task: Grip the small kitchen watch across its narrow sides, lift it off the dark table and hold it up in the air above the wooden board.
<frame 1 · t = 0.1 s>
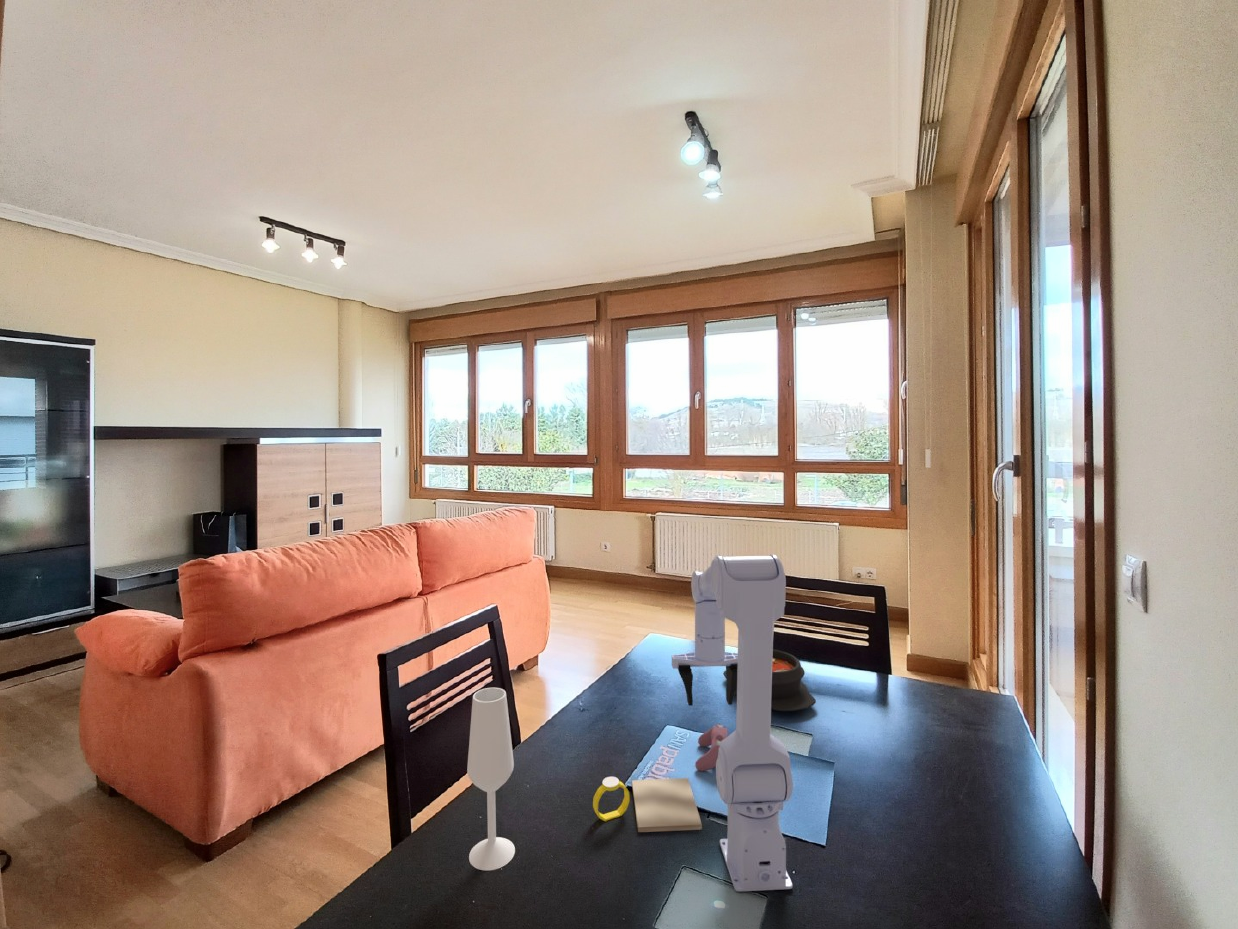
hand: (709, 702, 109), 10 cm above the table, tool pointing down, fingers open, 7 cm apart
wooden board: (664, 805, 94), on the table
casserole: (766, 694, 134), on the table
watch: (611, 817, 91), on the table
champagne flute: (492, 854, 83), on the table
video game controller: (712, 760, 107), on the table
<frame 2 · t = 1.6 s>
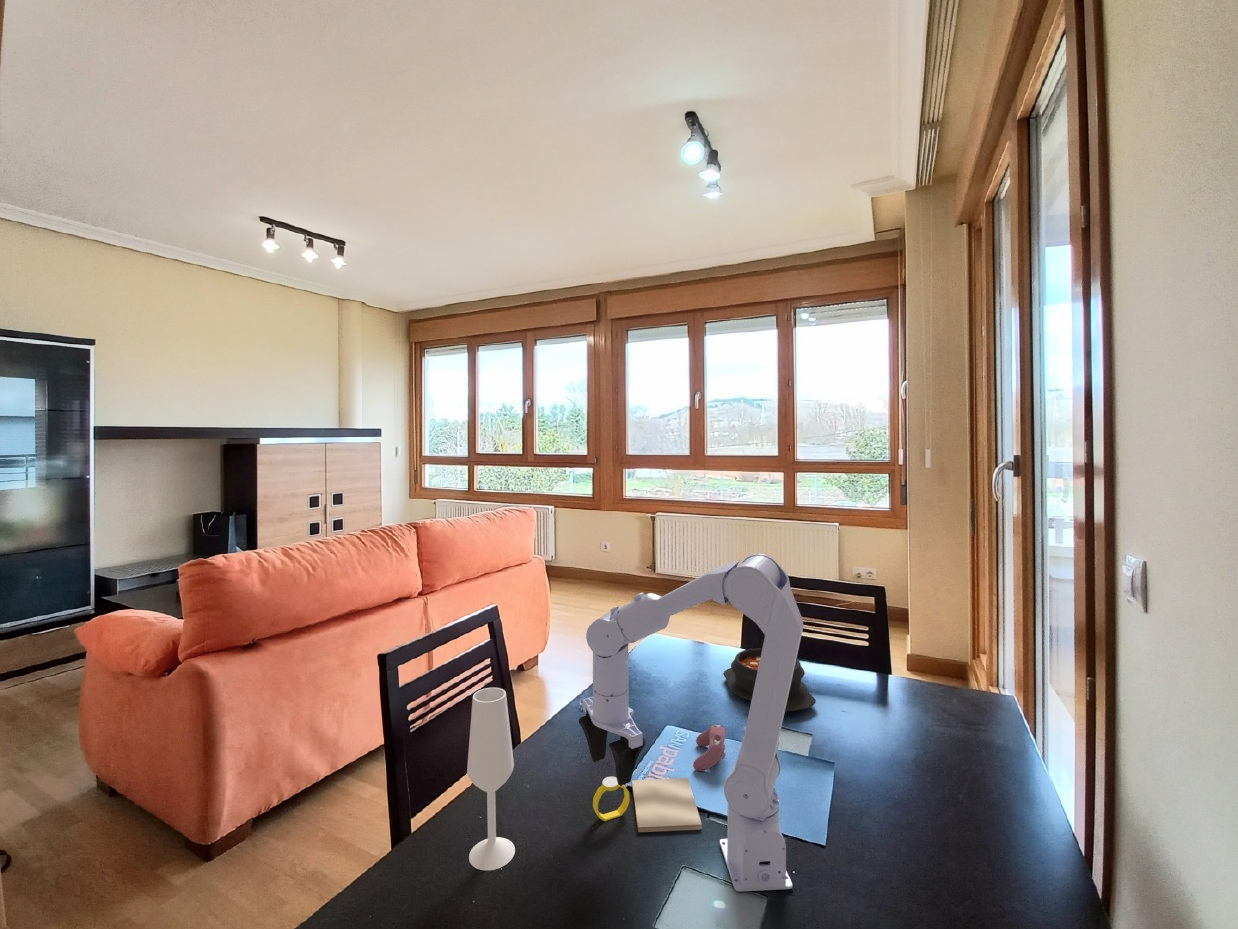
hand: (610, 770, 91), 8 cm above the table, tool pointing down, fingers open, 7 cm apart
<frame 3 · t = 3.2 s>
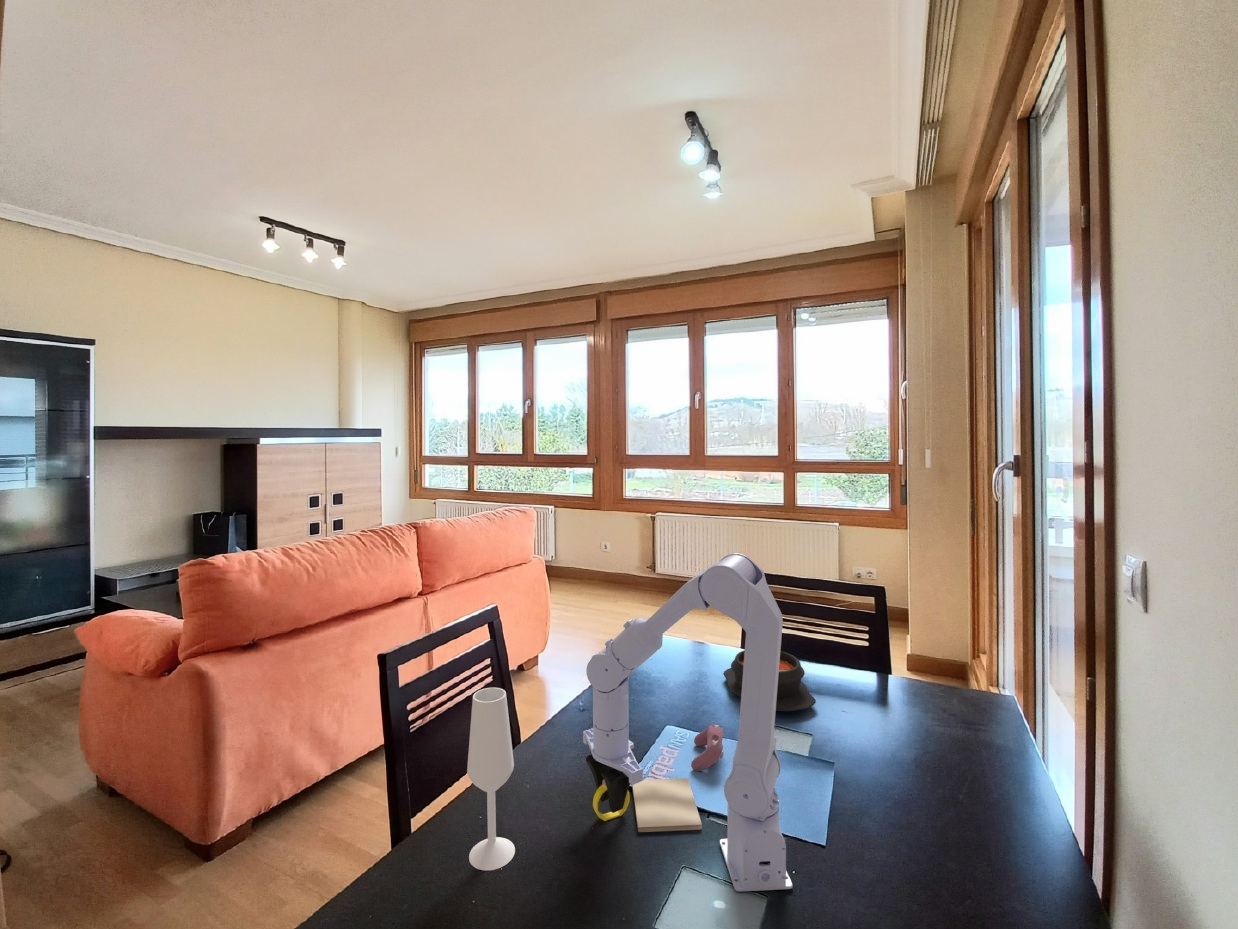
hand: (611, 804, 91), 2 cm above the table, tool pointing down, fingers closed on watch, 3 cm apart
watch: (611, 817, 91), on the table, touching gripper
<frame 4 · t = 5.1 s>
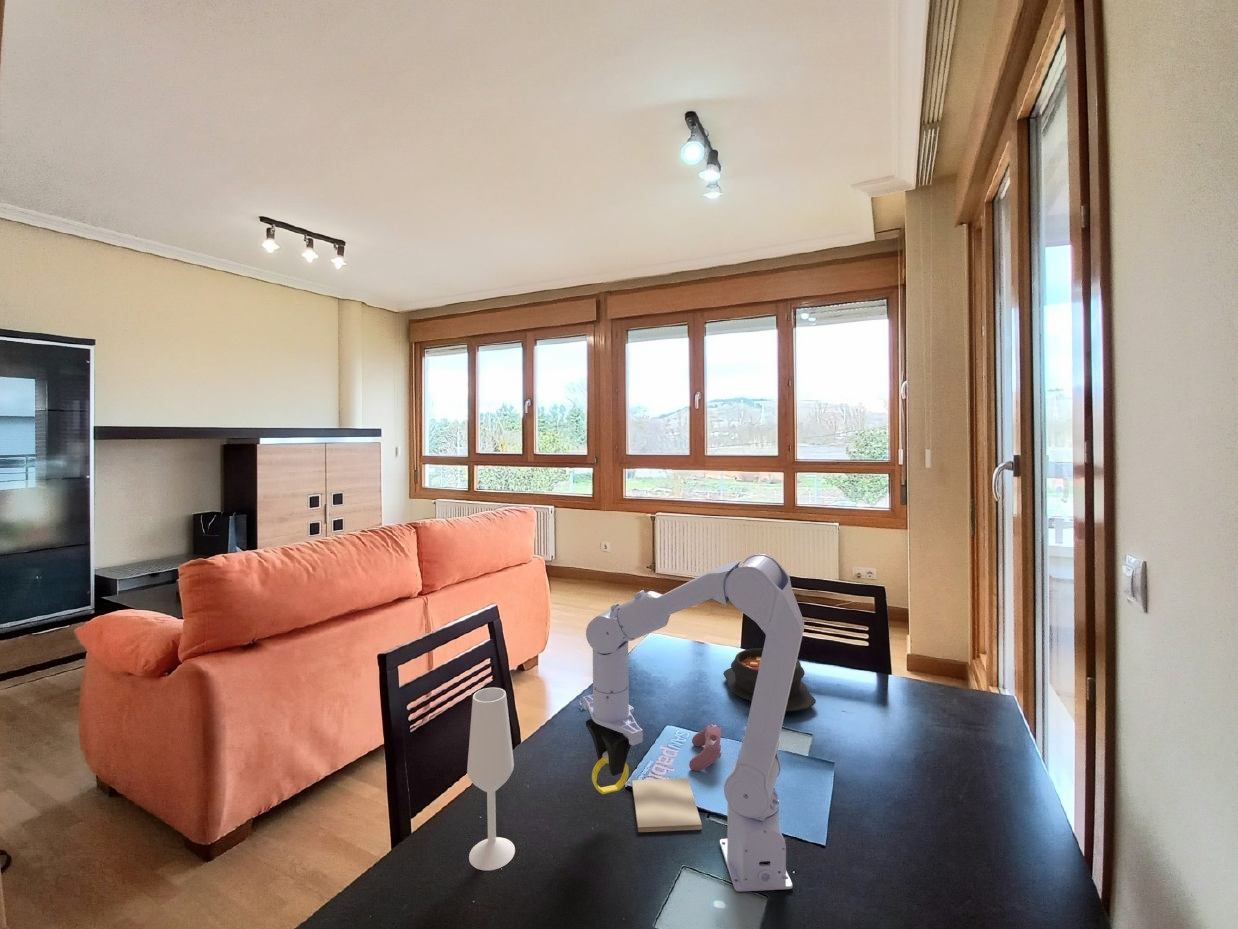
hand: (611, 768, 91), 8 cm above the table, tool pointing down, fingers closed on watch, 3 cm apart
watch: (609, 791, 91), point 4 cm above the table, touching gripper
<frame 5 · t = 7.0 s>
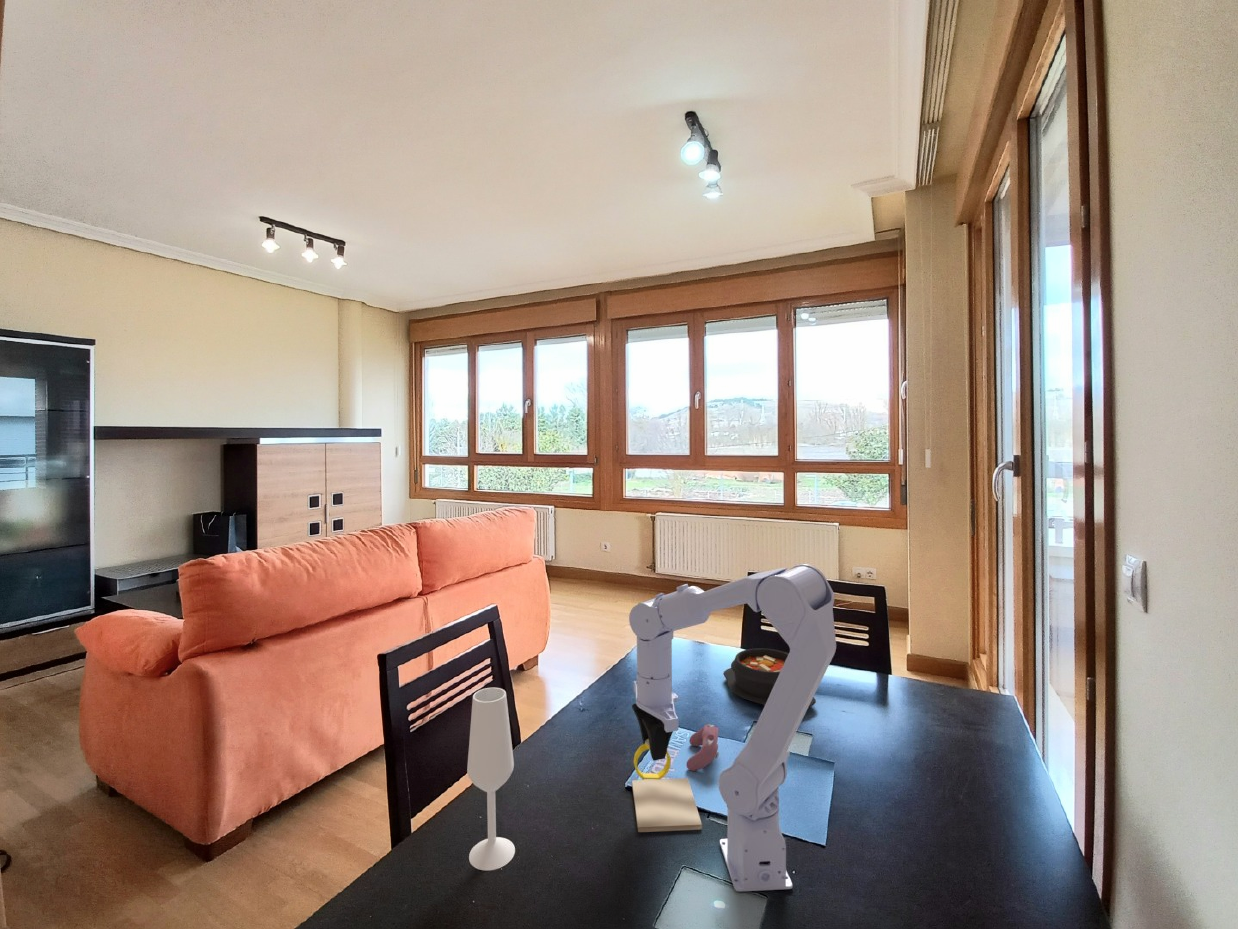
hand: (654, 753, 93), 9 cm above the table, tool pointing down, fingers closed on watch, 3 cm apart
watch: (650, 778, 93), point 5 cm above the table, touching gripper
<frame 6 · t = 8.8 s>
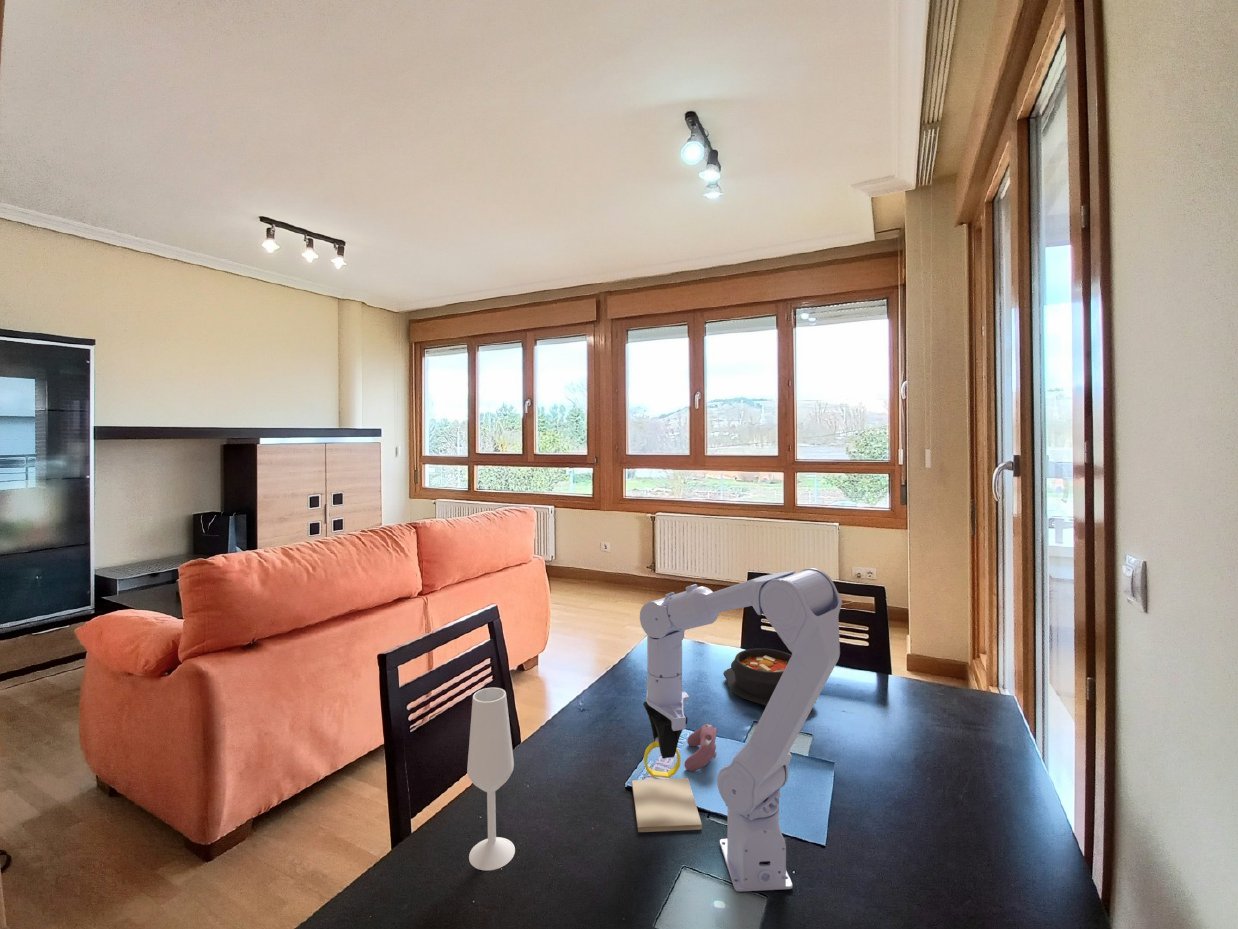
hand: (664, 751, 93), 9 cm above the table, tool pointing down, fingers closed on watch, 3 cm apart
watch: (660, 776, 93), point 5 cm above the table, touching gripper
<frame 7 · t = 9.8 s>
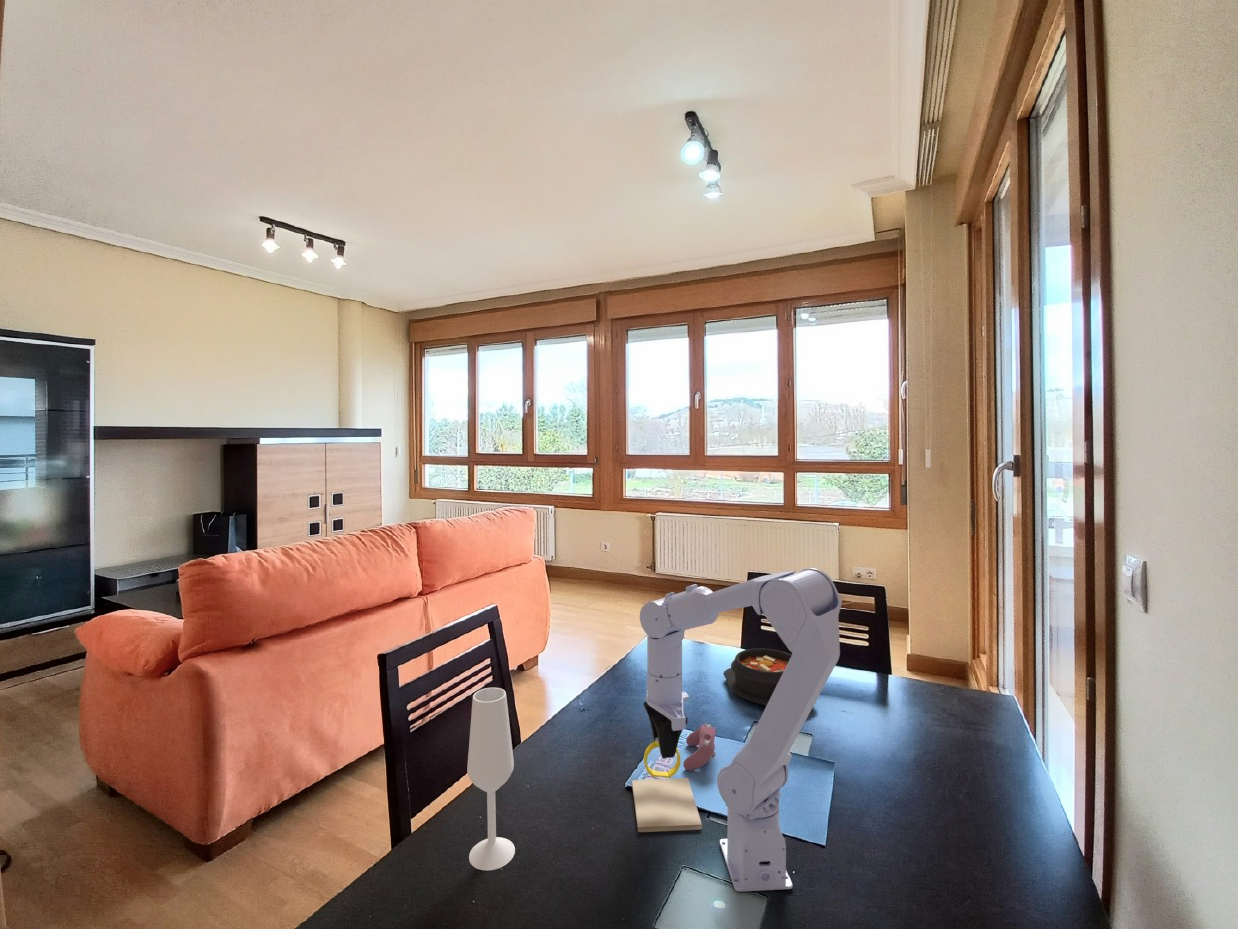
hand: (664, 751, 93), 9 cm above the table, tool pointing down, fingers closed on watch, 3 cm apart
watch: (660, 776, 93), point 5 cm above the table, touching gripper
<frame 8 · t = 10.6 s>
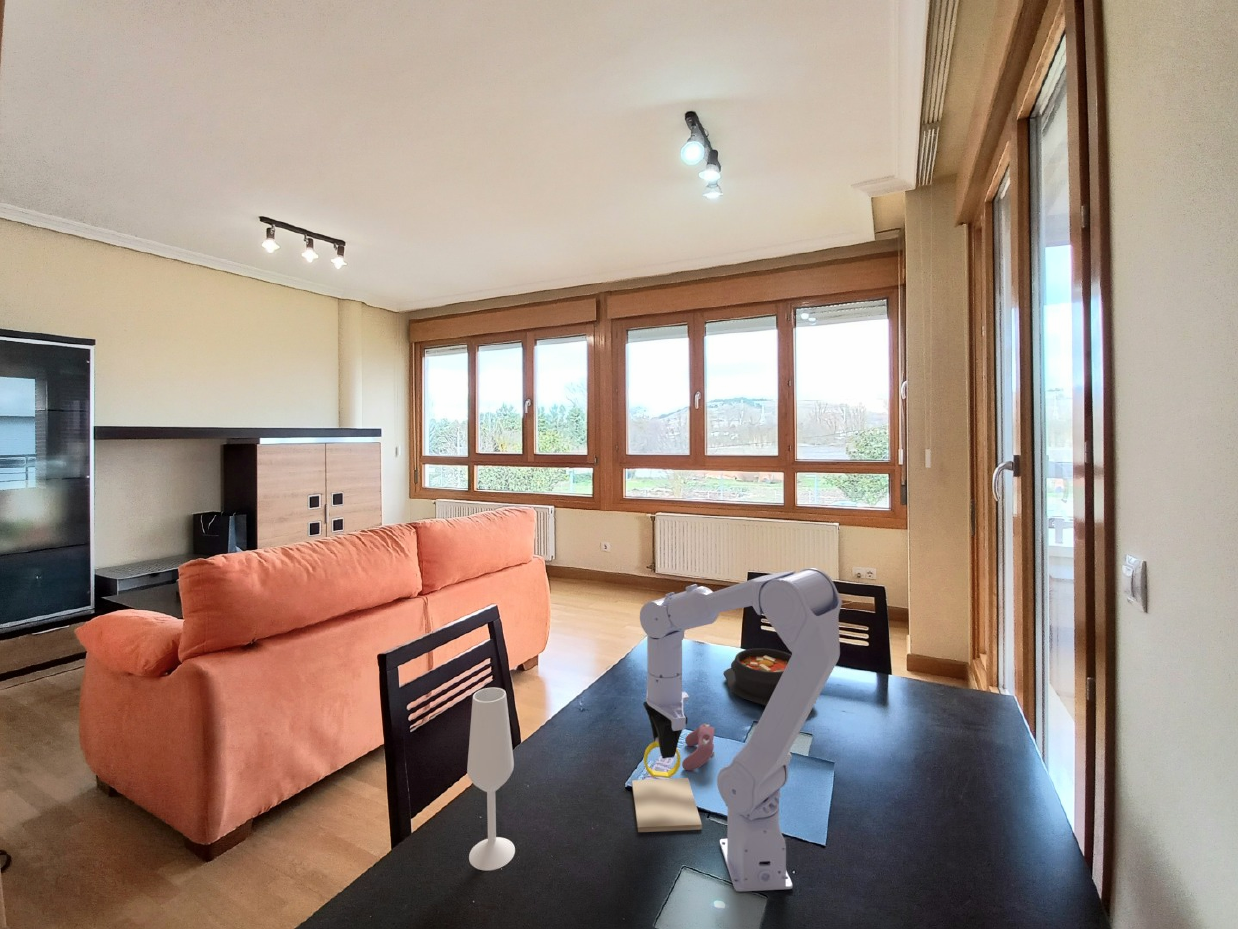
hand: (664, 751, 93), 9 cm above the table, tool pointing down, fingers closed on watch, 3 cm apart
watch: (660, 776, 93), point 5 cm above the table, touching gripper
at the end: the gripper is holding watch; watch point 5.2 cm above the table; watch 0.8 cm from the wooden board (horizontally) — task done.
